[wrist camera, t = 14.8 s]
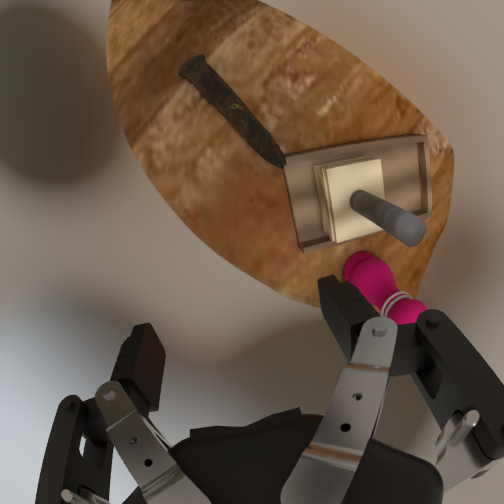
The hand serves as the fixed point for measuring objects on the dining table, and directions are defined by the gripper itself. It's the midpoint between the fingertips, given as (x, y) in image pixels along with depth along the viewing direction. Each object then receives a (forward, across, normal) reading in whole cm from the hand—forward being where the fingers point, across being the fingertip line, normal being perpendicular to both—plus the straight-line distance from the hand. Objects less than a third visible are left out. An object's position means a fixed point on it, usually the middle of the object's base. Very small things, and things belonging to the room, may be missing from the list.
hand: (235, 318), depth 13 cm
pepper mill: (+28, -19, +18) cm, 39 cm away
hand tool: (+29, -5, -10) cm, 31 cm away
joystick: (+27, -17, +4) cm, 32 cm away
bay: (+28, -21, +4) cm, 35 cm away
